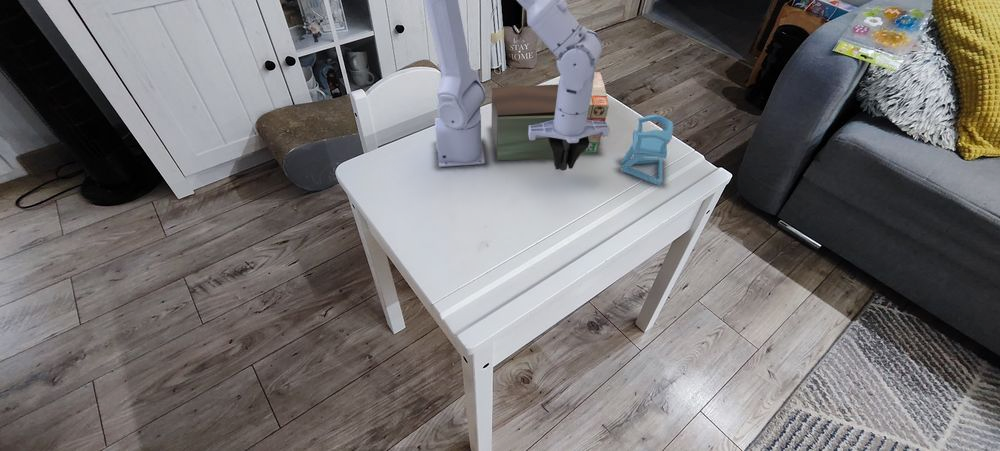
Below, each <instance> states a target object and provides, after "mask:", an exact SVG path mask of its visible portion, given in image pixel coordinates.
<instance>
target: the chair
mask: <svg viewBox="0 0 1000 451" xmlns="http://www.w3.org/2000/svg"><path fill="white" fill-rule="evenodd" d="M637 118H638V119H637V121H638V127H637V130H636V129H635V130H634V131H633V133H632V144H631V145H630V147H629V149H628V150H627V151H626V153H625V155H624V156H623V157H622V160H621V161H620V163H621V164H622V166H621V167H620V172H622V173H625V174H627V175H631V176H633V177H635V178H639V179H641V180H644V181H646V182H649V183H651V184H655V185H657V186H661V185H662V183H663V159H666V158H667V156H668V145H669V143H670V142H671V140H672V138H673V131H674V123H673V121H671V120H670V119H668V118H666V117H664V116H661V115H658V114H652V115H646V116H643V117H637ZM652 121H653V122H657V123H660V124H661V125H663V126H664V127H663V129H662V130H660V129H652V130H648V131H643V123H647V122H652ZM643 164H645V165H647V164H657V165H658V168H657V177H658V178H656V177H654V176H652V175H650V174H647V173H644V172H642V171H639V170H637V169H635V168H633V167H632V166H633V165H643Z"/></svg>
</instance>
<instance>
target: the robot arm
mask: <svg viewBox="0 0 1000 451" xmlns="http://www.w3.org/2000/svg"><path fill="white" fill-rule="evenodd" d="M516 1H517V3H518V4H519V5H520V6H521V7H522V8H523V9H524V10H525V12H526V23H527V25H528V27H529V28H530V29H531V30H532V31H533V32H534V34H536V36H537V37H538V38H539V39H540V40H541V41H542V42H543V43H544V45H545V46H546V47H547V48H548V49H549V50H550V52H551V53H552V54H553V55H554V56H555V57H556V58H557V60H556V68H557V70H558V72H559V74H560V75H559V80H558V84H559V85H558V93H557V101H556V108H555V117H554V120H551V121H547V122H544V123H540V124H536V125H529V129H528V136H529V140H535V138H542V137H548V139H549V143H550V146H551V148H552V151H553V154H554V159H553V164H554V168H555V170H560V164H561V156H562V152H563V150H564V145H563V139H564V140H567V142H568V143H570V153H569V159H568V165H567V168H568V169H569V170H570V169H571V170H572V169H573V168H574V166H575V164H576V162H577V160H578V159H579V157H580V156H581V154H583V153H582V152H583V151H584V150H585V149H586V148H588V146H589V139H588V136H590V135H601V137H608V136H609V132H610V126H609V123H608V121H605V122H599V121H592V120H587V115H588V110H589V105H590V100H591V94H592V89H593V80H594V73H595V72H596V65H597V64H598V62H599V59H600V58H601V55H602V52H603V43H602V41H601V38H600V37H599V35H598V33H597V32H596V31H594V30H592V29H589V28H586V27H585V25H583V26H582V25H581V24H580V22H578V21H577V19H576V18H575V17H574V16H573V15H572V14H571V12H570V11H569V10H568V8H567V7H568V6H569V5H568V3H567V1H566V0H516ZM424 5H425V10H426V13H427V18H428V22H429V27H430V31H431V35H432V39H433V40H432V41H433V43H434V47H435V48H434V49H435V52H436V56H437V60H438V65H439V69H440V73H441V79H440V81H439V86H438V89H437V93H436V94H437V99H438V102H437V103H438V104H437V107H436V112H437V116H438V117H435V118H434V127H435V138H436V142H435V151H436V152H437V157H438V166H439V167H440V168H447V167H459V166H460V167H461V166H473V165H484V164H485V163H486V160H485V152H484V147H483V141H482V113H481V106H482V105H483V104H484V103H485V101H486V98H487V93H486V92H487V91H486V89H485V87H484V85H483V83H481V80H480V78H479V72H478V71H476V70H475V69H473V68H471V64H470V57H469V51H468V46H467V40H466V36H465V31H464V26H463V19H462V14H461V9H460V4H459V0H424Z"/></svg>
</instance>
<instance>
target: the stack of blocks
mask: <svg viewBox="0 0 1000 451" xmlns="http://www.w3.org/2000/svg"><path fill="white" fill-rule="evenodd" d="M609 103H610V102H609V100H608V94H607V91H606V86H605V83H604V80H603V77H602V73H601V72H597V71H595V73H594V80H593V89H592V94H591V100H590V105H589V110H588V115H587V120H592V121H599V122H606V119H607V115H608V111H609V107H610V104H609ZM588 139H589V146H588V148H586V149H585V150H584V151H583V152H582V153H581V154H598V153H599V152H598V151H599V148H600V145H601V139H602V136H601V135H590V136H588ZM569 146H570V143H569Z"/></svg>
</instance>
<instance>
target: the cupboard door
mask: <svg viewBox="0 0 1000 451" xmlns="http://www.w3.org/2000/svg"><path fill="white" fill-rule="evenodd" d="M554 117H555V116H510V117H498V141H497V156H496V160H497V161H516V160H517V161H519V160H521V161H522V160H554V154H553V151H552V148H551V146H550V143H549V139H548V137H542V138H535V140H529V136H528V129H529V125H536V124H540V123H544V122H547V121H551V120H554ZM563 145H564V150H563V152H562V156H561V164H560V169H559V170H561V171H566V170H567V169H568V159H569V153H570V146H569V143H568V142H567V140H564V139H563Z"/></svg>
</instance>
